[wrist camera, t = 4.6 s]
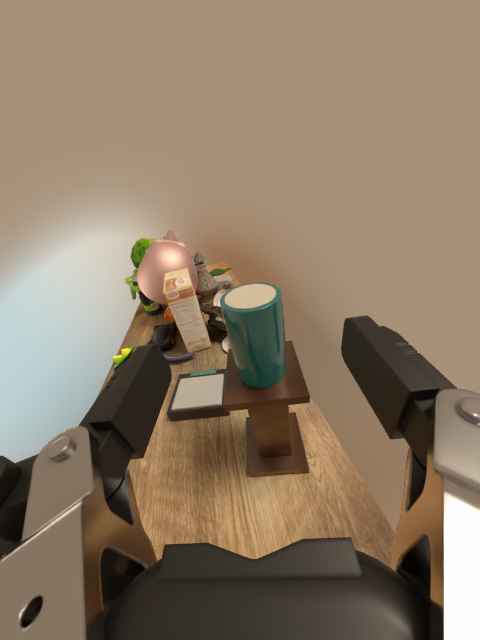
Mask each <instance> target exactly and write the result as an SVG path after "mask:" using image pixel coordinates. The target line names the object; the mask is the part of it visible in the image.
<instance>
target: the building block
mask: <svg viewBox="0 0 480 640" xmlns="http://www.w3.org/2000/svg"><path fill="white" fill-rule="evenodd" d="M164 317H165V319H166V320H168V321H170V322H173V321H174V317H173V315H172V312H171V310H170V308H169V306H168V307H167V309H166V311H165V313H164Z"/></svg>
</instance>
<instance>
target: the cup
mask: <svg viewBox="0 0 480 640" xmlns="http://www.w3.org/2000/svg"><path fill="white" fill-rule="evenodd" d="M220 306H221V310H222V314H223V317H224V321H225V325H226V329H227V333H228V337H229V341H230V345H231V348H232V352H233V356H234V360H235V364H236V368H237V372H238V376H239V378H240V379H241V381H242V382H243V383H245V384H246V385H248V386H250V387H253V388H268V387H272V386H274V385H276V384H278V383H279V382H280V381H281V380H282V379H283V378H284V377H285V375H286V373H287V359H286V345H285V331H284V318H283V304H282V292H281V290H280V289H279V288H278V287H277V286H275V285H272V284H268V283H250V284H245V285H241V286H238V287H235V288H233V289H231V290H229V291H227V292H226V293H225V294H224V295H223V296H222V297H221V299H220Z"/></svg>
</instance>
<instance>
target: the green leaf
mask: <svg viewBox="0 0 480 640" xmlns="http://www.w3.org/2000/svg"><path fill="white" fill-rule="evenodd" d="M228 269H231V268H229V267H228V268H215V269H213V270H211V272H209V273H210V274H211V276H213V275H218V274H221V273H223V272H226V271H227V270H228Z"/></svg>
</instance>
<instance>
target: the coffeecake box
mask: <svg viewBox="0 0 480 640" xmlns="http://www.w3.org/2000/svg"><path fill="white" fill-rule="evenodd" d="M163 294H164V296H165V298H166V300H167V303H168V305H169V308H170V310H171V312H172V315H173V317H174V319H175V322H176V324H177V327H178V329H179V331H180V334H181V336H182V339H183V341H184V343H185V346H186V348H187V351H188V353H193V352H196V351H199V350H202V349H205V348H209V347H211V343H210V339H209V335H208V331H207V327H206V324H205V321H204V318H203V315H202V312H201V309H200V307H199V303H198V300H197V297H196V294H195V290H194V287H193V284H192V281H191V278H190V275H189V272H188V268H185V269H181V270H177V271H172V272H168V273H165V277H164V287H163Z"/></svg>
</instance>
